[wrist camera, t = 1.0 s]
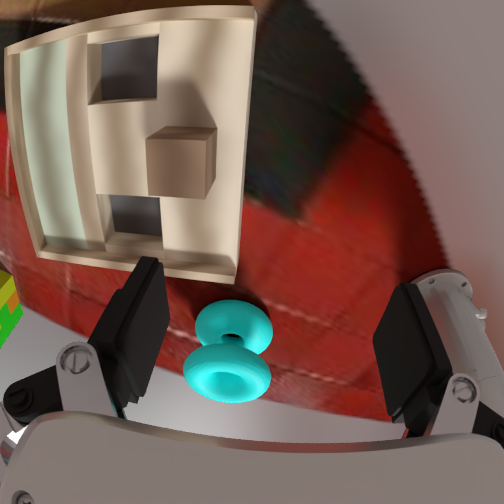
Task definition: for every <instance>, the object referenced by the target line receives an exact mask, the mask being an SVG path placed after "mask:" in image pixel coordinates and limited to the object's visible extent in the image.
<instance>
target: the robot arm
mask: <svg viewBox="0 0 504 504" xmlns="http://www.w3.org/2000/svg"><path fill="white" fill-rule="evenodd" d="M472 295H473V290H472V286H471V284H470V282H469V280H468V279H467V277H466V276H465V275H464V274H463V273H461V272H460V271H457V270H454V269H438V270H434V271H431V272H428V273H426V274H424V275H421V276H420V277H418V278H416V279H415V280H413V281H412V282H411V283H401V284H400V285H399V286H397V287H396V288H395V290H394V292H393V294H392V296H391V299H390V301H389V303H388V305H387V308H386V310H385V312H384V314H383V316H382V318H381V320H380V322H379V325H378V327H377V329H376V331H375V333H374V335H373V346H374V350H375V355H376V359H377V363H378V368H379V373H380V377H381V382H382V387H383V392H384V397H385V402H386V408H387V413H388V415H389V416H391V417H392V422H393V423H402V422H405V426H406V430H405V431H404V434H403V436H402V438H401V439H395V440H386V441H373V442H359V443H358V442H357V443H327V444H326V443H323V444H322V443H320V444H319V443H280V442H264V441H252V440H241V439H231V438H223V437H215V436H208V435H202V434H195V433H189V432H183V431H178V430H173V429H168V428H162V427H157V426H152V425H148V424H142V423H138V422H134V421H130V420H127V417H126V415H125V412H124V409H123V408H124V407H126V406H127V404H128V402H132V403H136V404H137V403H138V400H139V397H140V396H141V397H143V396H144V395H145V392H146V389H147V386H148V383H149V380H150V377H151V374H152V371H153V368H154V365H155V362H156V359H157V356H158V353H159V351H160V348H161V345H162V342H163V339H164V336H165V333H166V331H167V328H168V325H169V320H170V313H169V306H168V299H167V291H166V283H165V275H164V266H163V263H162V262H159V260H158V258H157V257H149V256H141V258H140V259H139V261H138V263H137V264H136V266H135V268H134V269H133V271H132V273H131V274H130V276H129V278H128V280H127V281H126V283H125V285H124V287H123V288H122V289H117V290H116V292H115V293H114V295H113V296H112V298H111V300H110V302H109V303H108V305H107V307H106V309H105V310H104V312H103V314H102V316H101V318H100V319H99V321H98V323H97V325H96V327H95V329H94V330H93V332H92V334H91V336H90V338H89V340H88V342H87V343H85V342H73V343H70V344H68V345H66V346H65V347H64V348H62V349H61V351H60V352H59V353H58V355H57V358H56V365H54V366H52V367H50V368H47V369H45V370H43V371H40V372H38V373H36V374H33V375H31V376H29V377H26V378H24V379H21V380H19V381H17V382H15V383H13V384H11V385H10V386H9V387H8V388H7V390H6V392H5V394H4V398H3V401H2V402H0V504H504V372H503V370H502V368H501V366H500V364H499V361H498V359H497V357H496V354H495V352H494V350H493V348H492V346H491V344H490V342H489V340H488V338H487V336H486V334H485V332H484V329H485V323H484V321H483V320H478V319H484V318H486V316H487V311H486V310H485V309H476V308H475V306H474V304H473V303H472Z"/></svg>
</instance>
